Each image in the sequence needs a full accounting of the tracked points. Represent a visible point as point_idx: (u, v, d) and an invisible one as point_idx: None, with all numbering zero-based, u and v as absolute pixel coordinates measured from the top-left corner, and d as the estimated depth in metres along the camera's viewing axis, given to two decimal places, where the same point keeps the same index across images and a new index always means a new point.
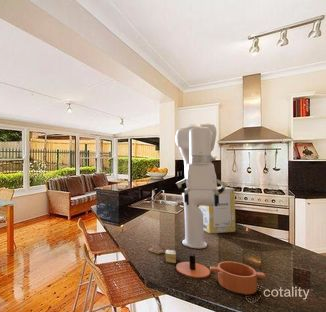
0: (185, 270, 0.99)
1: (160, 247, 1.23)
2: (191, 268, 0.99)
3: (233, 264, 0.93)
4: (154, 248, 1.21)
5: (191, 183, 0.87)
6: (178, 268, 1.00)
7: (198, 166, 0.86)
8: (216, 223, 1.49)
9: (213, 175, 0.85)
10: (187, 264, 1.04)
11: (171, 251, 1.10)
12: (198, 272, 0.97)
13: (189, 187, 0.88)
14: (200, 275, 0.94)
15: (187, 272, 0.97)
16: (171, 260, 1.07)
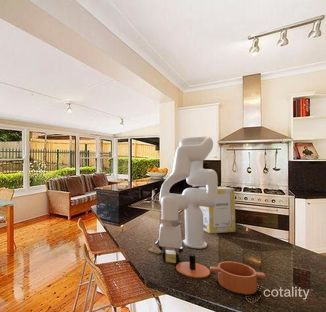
0: (185, 270, 0.99)
1: None
2: (191, 268, 0.99)
3: (233, 264, 0.93)
4: (154, 248, 1.21)
5: (162, 241, 1.09)
6: (178, 268, 1.00)
7: (168, 229, 1.08)
8: (216, 223, 1.49)
9: (179, 236, 1.06)
10: (187, 264, 1.04)
11: (171, 251, 1.10)
12: (198, 272, 0.97)
13: (161, 244, 1.09)
14: (200, 275, 0.94)
15: (187, 272, 0.97)
16: (171, 260, 1.07)
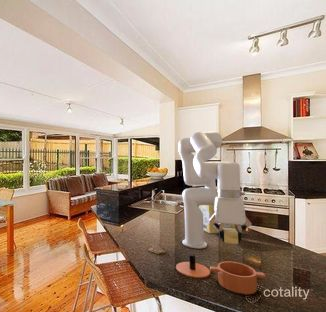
0: (185, 270, 0.99)
1: (160, 247, 1.23)
2: (191, 268, 0.99)
3: (233, 264, 0.93)
4: (154, 248, 1.21)
5: (220, 217, 0.89)
6: (178, 268, 1.00)
7: (228, 201, 0.88)
8: None
9: (243, 210, 0.86)
10: (187, 264, 1.04)
11: (230, 229, 0.90)
12: (198, 272, 0.97)
13: (218, 221, 0.89)
14: (200, 275, 0.94)
15: (187, 272, 0.97)
16: (232, 239, 0.87)
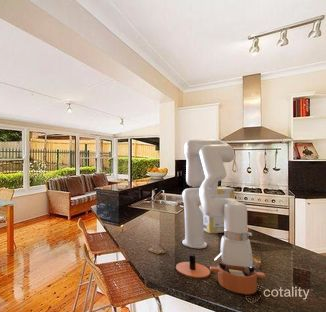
0: (185, 270, 0.99)
1: (160, 247, 1.23)
2: (191, 268, 0.99)
3: None
4: (154, 248, 1.21)
5: (227, 259, 0.88)
6: (178, 268, 1.00)
7: (235, 243, 0.86)
8: (216, 223, 1.49)
9: (250, 253, 0.85)
10: (187, 264, 1.04)
11: (237, 271, 0.89)
12: (198, 272, 0.97)
13: (225, 262, 0.88)
14: (200, 275, 0.94)
15: (187, 272, 0.97)
16: None
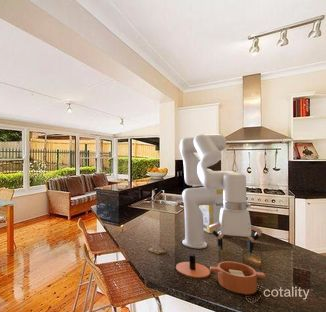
0: (185, 270, 0.99)
1: (160, 247, 1.23)
2: (191, 268, 0.99)
3: (233, 264, 0.93)
4: (154, 248, 1.21)
5: (225, 229, 0.88)
6: (178, 268, 1.00)
7: (234, 213, 0.86)
8: None
9: (248, 222, 0.85)
10: (187, 264, 1.04)
11: (237, 271, 0.89)
12: (198, 272, 0.97)
13: (223, 232, 0.88)
14: (200, 275, 0.94)
15: (187, 272, 0.97)
16: None
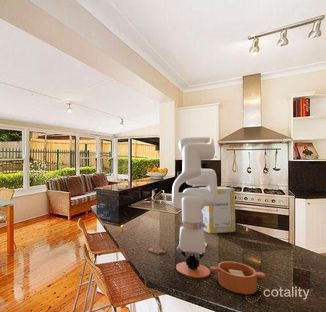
0: (185, 270, 0.99)
1: (160, 247, 1.23)
2: (191, 268, 0.99)
3: (233, 264, 0.93)
4: (154, 248, 1.21)
5: (183, 246, 0.99)
6: (178, 268, 1.00)
7: (190, 232, 0.98)
8: (216, 223, 1.49)
9: (202, 240, 0.97)
10: None
11: (237, 271, 0.89)
12: (198, 272, 0.97)
13: (182, 249, 1.00)
14: (200, 275, 0.94)
15: (187, 272, 0.97)
16: None
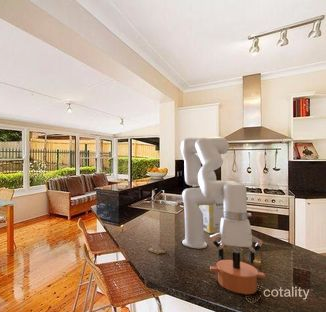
0: (229, 269, 0.87)
1: (160, 247, 1.23)
2: (235, 267, 0.87)
3: None
4: (154, 248, 1.21)
5: (226, 239, 0.88)
6: (220, 267, 0.89)
7: (234, 223, 0.86)
8: (216, 223, 1.49)
9: (249, 233, 0.85)
10: (228, 262, 0.92)
11: None
12: (244, 271, 0.85)
13: (224, 243, 0.88)
14: (248, 275, 0.82)
15: (232, 271, 0.85)
16: None
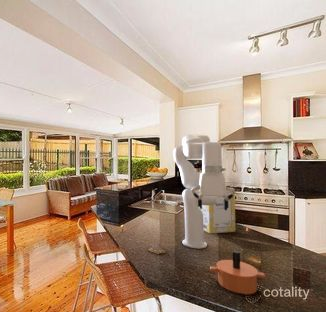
0: (229, 269, 0.87)
1: (160, 247, 1.23)
2: (235, 267, 0.87)
3: None
4: (154, 248, 1.21)
5: (204, 190, 1.01)
6: (220, 267, 0.89)
7: (211, 176, 1.00)
8: (216, 223, 1.49)
9: (223, 183, 0.98)
10: (228, 262, 0.92)
11: None
12: (244, 271, 0.85)
13: (202, 193, 1.01)
14: (248, 275, 0.82)
15: (232, 271, 0.85)
16: None
